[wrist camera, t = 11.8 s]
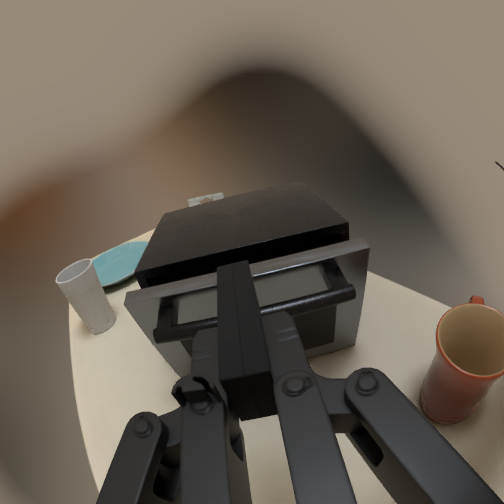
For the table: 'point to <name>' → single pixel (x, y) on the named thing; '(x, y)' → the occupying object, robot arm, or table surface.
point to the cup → (86, 295)
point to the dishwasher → (239, 233)
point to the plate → (119, 262)
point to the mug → (464, 361)
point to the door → (263, 301)
